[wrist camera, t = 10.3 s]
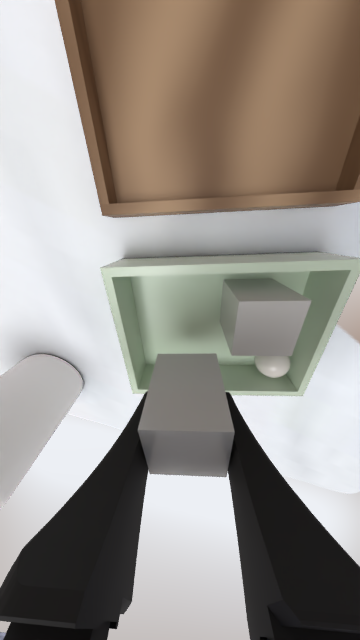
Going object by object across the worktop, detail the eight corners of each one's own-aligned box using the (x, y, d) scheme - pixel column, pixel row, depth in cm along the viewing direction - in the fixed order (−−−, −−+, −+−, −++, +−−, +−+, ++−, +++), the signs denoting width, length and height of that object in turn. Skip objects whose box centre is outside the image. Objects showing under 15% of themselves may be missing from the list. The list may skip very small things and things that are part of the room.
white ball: (283, 339, 16) (302, 359, 14) (276, 362, 18) (292, 384, 15) (252, 339, 17) (265, 359, 14) (248, 362, 18) (258, 384, 15)
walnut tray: (464, -189, 6) (578, -363, 4) (333, 206, 12) (359, 201, 10) (50, -113, 7) (4, -229, 5) (114, 217, 13) (102, 215, 11)
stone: (216, 353, 11) (234, 432, 7) (213, 394, 13) (226, 476, 8) (157, 353, 11) (137, 430, 7) (163, 393, 13) (149, 473, 9)
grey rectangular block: (272, 278, 14) (311, 300, 9) (262, 320, 16) (291, 355, 11) (223, 279, 14) (239, 301, 9) (219, 321, 16) (231, 355, 11)
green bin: (318, 251, 13) (366, 259, 10) (281, 365, 19) (302, 396, 15) (122, 258, 14) (100, 267, 11) (142, 364, 20) (132, 393, 16)
